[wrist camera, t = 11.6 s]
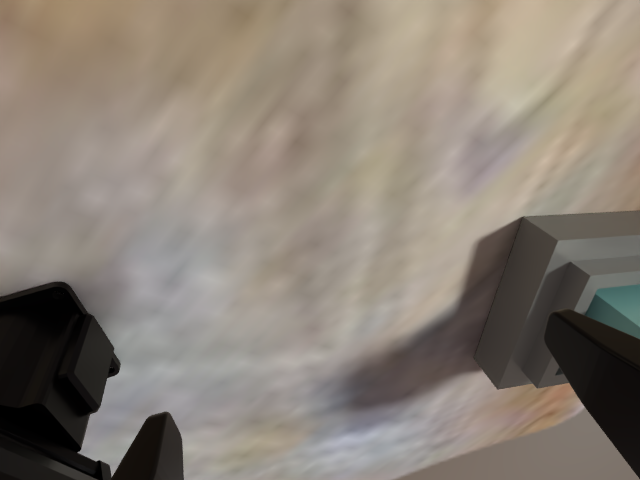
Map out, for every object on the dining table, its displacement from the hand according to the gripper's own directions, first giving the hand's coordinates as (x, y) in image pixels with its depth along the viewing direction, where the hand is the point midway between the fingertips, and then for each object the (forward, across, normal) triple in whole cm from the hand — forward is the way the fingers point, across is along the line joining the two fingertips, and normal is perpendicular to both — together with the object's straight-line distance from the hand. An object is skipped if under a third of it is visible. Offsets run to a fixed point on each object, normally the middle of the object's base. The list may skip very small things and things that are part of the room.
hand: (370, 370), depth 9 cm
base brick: (+13, -19, +13) cm, 27 cm away
